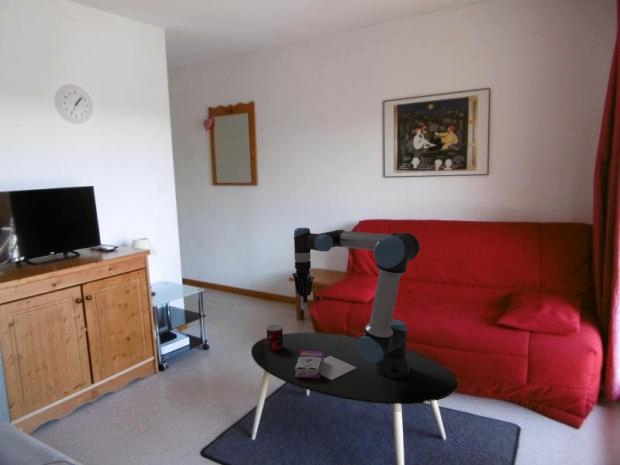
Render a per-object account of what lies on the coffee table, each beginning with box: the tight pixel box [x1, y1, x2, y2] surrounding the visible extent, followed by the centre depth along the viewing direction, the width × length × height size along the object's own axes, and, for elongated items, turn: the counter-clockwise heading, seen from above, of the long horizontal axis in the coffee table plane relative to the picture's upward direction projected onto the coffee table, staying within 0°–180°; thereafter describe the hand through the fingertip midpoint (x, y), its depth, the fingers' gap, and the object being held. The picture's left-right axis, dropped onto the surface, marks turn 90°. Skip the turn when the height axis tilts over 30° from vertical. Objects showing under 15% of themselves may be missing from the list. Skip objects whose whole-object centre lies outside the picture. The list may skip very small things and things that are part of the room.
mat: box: [320, 355, 357, 381], centre depth 199 cm, size 17×16×1 cm
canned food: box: [266, 324, 284, 352], centre depth 221 cm, size 8×8×11 cm
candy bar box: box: [294, 349, 325, 379], centre depth 197 cm, size 11×5×16 cm
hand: (303, 308), depth 209 cm, fingers closed
